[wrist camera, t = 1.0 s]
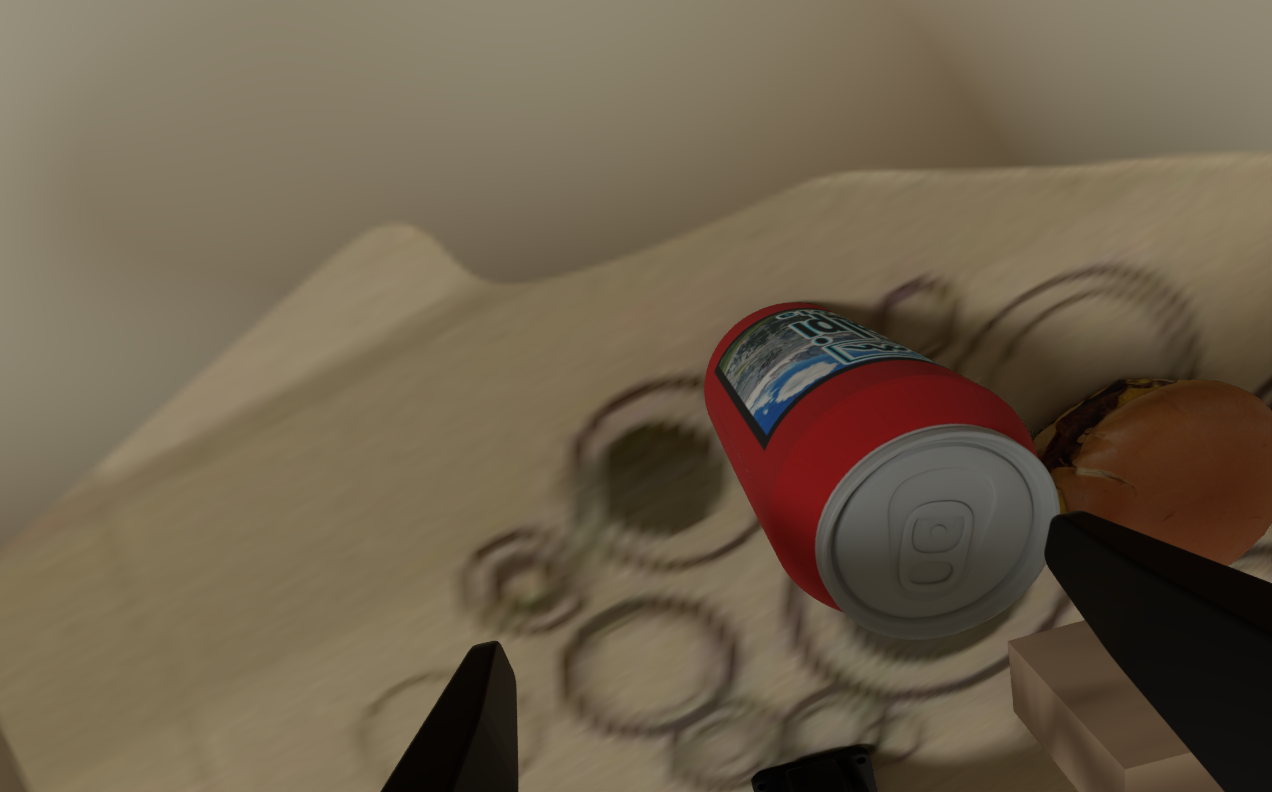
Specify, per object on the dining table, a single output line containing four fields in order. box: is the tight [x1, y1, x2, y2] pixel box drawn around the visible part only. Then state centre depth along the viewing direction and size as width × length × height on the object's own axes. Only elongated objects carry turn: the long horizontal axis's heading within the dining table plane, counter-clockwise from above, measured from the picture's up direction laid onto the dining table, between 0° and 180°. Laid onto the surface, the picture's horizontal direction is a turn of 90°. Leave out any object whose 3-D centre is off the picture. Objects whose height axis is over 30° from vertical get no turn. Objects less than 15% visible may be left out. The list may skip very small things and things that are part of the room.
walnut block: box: [1008, 620, 1224, 792], centre depth 27 cm, size 5×5×7 cm
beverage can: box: [704, 302, 1060, 640], centre depth 18 cm, size 7×7×12 cm
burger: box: [1033, 379, 1272, 566], centre depth 24 cm, size 10×9×5 cm
